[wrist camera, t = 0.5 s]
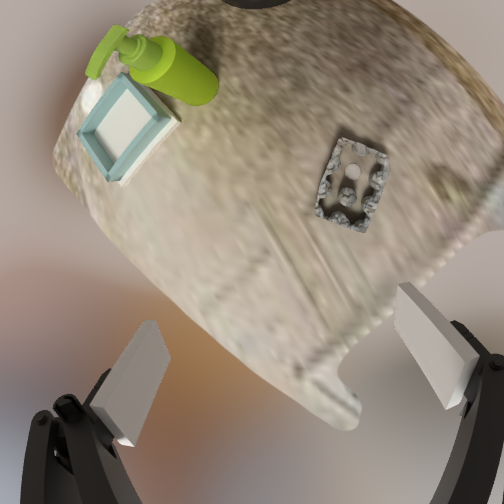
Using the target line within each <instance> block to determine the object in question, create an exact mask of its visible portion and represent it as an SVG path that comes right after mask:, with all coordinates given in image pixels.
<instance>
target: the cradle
mask: <svg viewBox="0 0 504 504" xmlns="http://www.w3.org/2000/svg"><path fill="white" fill-rule="evenodd" d="M180 123H181V122H180V121H179V119H178V118H177V117H176V116H175V115H174V114H173V113H172V112H171V110H170V109H169V108H168V107H167V106H166V105H165V104H164V103H163V102H162V101H161V99H160V98H159V97H158V96H157V95H156V94H155V93H154V92H153V91H152V90H151V89H150V87H148V86H146V85H143V84H140V83H138V82H136V81H134V80H133V79H132V77H131V75H130V73H129V74H126V73H123V72H121V73H120V74H119V75H118V76H117V77H116V79H115V80H114V81H113V82H112V84H111V85H110V86H109V87H108V89H107V90H106V91H105V93H104V94H103V95H102V97H101V98H100V99H99V101H98V102H97V104H96V105H95V106H94V108H93V109H92V111H91V112H90V114H89V115H88V117H87V118H86V120H85V121H84V123H83V124H82V126H81V127H80V129H79V130H78V132H77V136H78V137H79V139H80V141H81V142H82V144H83V145H84V147H85V148H86V150H87V152H88V153H89V155H90V156H91V158H92V159H93V161H94V162H95V164H96V165H97V167H98V168H99V170H100V171H101V173H102V174H103V176H104V177H105V179H106V180H107V182H113V181H117V182H118V183H119V185H120V186H121V187H126V186H127V185H128V183H129V182H130V181H131V179H132V178H133V177H134V176H135V174H136V173H137V172H138V171H139V170H140V168H141V167H142V166H143V165H144V163H145V162H146V161H147V160H148V159H149V158H150V156H151V155H152V154H153V153H154V152H155V151H156V150H157V148H158V147H159V146H160V145H161V144H162V143H163V142H164V141H165V139H166V138H167V137H168V136H169V135H170V134H171V133H172V132H173V131H174V130H175V129H176V128H177V127H178V126H179V124H180Z"/></svg>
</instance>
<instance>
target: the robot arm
mask: <svg viewBox="0 0 504 504" xmlns="http://www.w3.org/2000/svg"><path fill="white" fill-rule="evenodd" d="M222 1H223V2H225V3H227V4H229V5H231V6H234V7H238V8H244V9H262V8H269V7H274V6H277V5H281V4H283V3H286V2H288V1H290V0H222ZM394 328H395V329H396V331H397V332H398V334H399V335H400V337H401V338H402V339H403V341H404V343H405V344H406V346H407V347H408V348H409V350H410V352H411V353H412V355H413V356H414V358H415V359H416V361H417V363H418V364H419V366H420V367H421V369H422V371H423V372H424V374H425V376H426V377H427V379H428V381H429V382H430V384H431V385H432V387H433V389H434V391H435V392H436V394H437V396H438V397H439V399H440V401H441V403H442V405H443V406H444V408H445V410H446V409H449V408H451V407H453V406H455V405H457V404H459V403H460V401H461V399H462V397H463V395H465V397H466V398H467V402H466V404H465V405H464V408H463V409H462V411H461V413H460V415H461V416H462V419H461V423H460V427H459V430H458V434H457V437H456V440H455V443H454V446H453V449H452V452H451V455H450V458H449V461H448V463H447V466H446V468H445V471H444V473H443V476H442V478H441V481H440V483H439V485H438V487H437V490H436V492H435V494H434V496H433V498H432V500H431V502H430V504H487V502H488V499H489V496H490V494H491V491H492V487H493V484H494V481H495V477H496V473H497V469H498V466H499V461H500V457H501V453H502V448H503V442H504V356H503V355H500V354H490V353H489V352H488V351H487V349H486V348H485V347H484V346H483V345H482V344H481V343H480V342H479V341H478V340H477V338H476V337H474V335H473V334H472V333H471V332H469V330H468V329H467V328H466V327H465V326H464V325H463V324H461V323H459V322H457V321H455V320H454V321H451V322H449V321H448V320H447V319H446V318H445V317H444V316H443V315H442V314H441V313H440V312H439V311H438V310H437V309H436V308H435V307H434V306H433V305H432V303H431V302H429V300H428V299H427V298H425V296H424V295H423V294H421V293H420V292H419V291H418V290H417V289H416V288H415V287H414V286H413V285H412V284H411V283H410V282H406V283H402V284H397V299H396V312H395V323H394ZM170 360H171V357H170V354H169V352H168V350H167V347H166V345H165V343H164V340H163V338H162V335H161V333H160V330H159V328H158V325H157V322H156V320H148V321H143V323H142V324H141V326H140V327H139V329H138V330H137V332H136V333H135V335H134V336H133V338H132V339H131V341H130V342H129V344H128V345H127V347H126V348H125V350H124V351H123V353H122V354H121V356H120V357H119V359H118V360H117V362H116V363H115V365H114V366H113V368H112V369H108V370H107V371H106V372H105V373H103V374H102V375H101V377H100V379H99V380H98V383H96V385H95V386H94V389H92V391H91V392H90V394H89V395H88V397H87V399H86V400H85V402H84V403H83V405H81V404H80V402H79V401H78V399H77V398H76V397H75V396H74V395H73V394H66V395H63V396H61V397H59V398H58V399H57V400H56V401H55V403H54V405H53V409H54V411H55V412H56V413H57V415H58V416H59V417H56V418H55V417H54V416H53V415H52V414H51V412H50V411H48V410H42V411H39V412H38V413H36V415H35V416H34V417H33V419H32V422H31V427H30V431H29V436H28V442H27V447H26V453H25V459H24V466H23V475H22V484H21V497H20V504H142V502H141V500H140V498H139V497H138V495H137V493H136V491H135V489H134V487H133V485H132V483H131V481H130V479H129V477H128V475H127V473H126V470H125V469H124V466H123V464H122V461H121V459H120V457H119V454H118V452H117V450H116V447H115V446H114V444H113V443H112V441H113V439H114V437H115V438H116V439H117V440H118V442H119V443H120V444H123V445H128V446H133V447H134V446H135V444H136V441H137V439H138V437H139V434H140V431H141V429H142V426H143V424H144V422H145V419H146V417H147V414H148V411H149V409H150V407H151V404H152V402H153V400H154V397H155V395H156V392H157V389H158V388H159V385H160V383H161V381H162V378H163V376H164V373H165V371H166V369H167V366H168V364H169V362H170ZM462 414H463V415H462ZM54 450H55V451H56V452H57V454H56V456H55V455H54ZM502 504H504V493H503V502H502Z"/></svg>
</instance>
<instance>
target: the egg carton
mask: <svg viewBox="0 0 504 504" xmlns="http://www.w3.org/2000/svg"><path fill="white" fill-rule="evenodd" d="M347 143H348V144H351V145H352V151H353V152H354V154H355V155H357V156H365V155H367V154H369V153H370V152H372V153H374V154H375V158H376V161H377V162H378V163H379V164H380V165H381V169H380V172H373V173H372V174H371V175H370V176H369V184H370V186H371V187H372V188H373V189H374V192H373V195H372V196H366V197H364V198H363V199H362V201H361V208H362V210H363V211H364V212H365V213H366V216H365V219H364V220H357V221H356V222H355V223H354V224H353V225H351V224H350V222H349V220H348V218H347V217H346V216H345V214H344V213H342V212H340V211H336V212H334V213H332V214H331V216H330V217H328V216H325V215H323V209H322V207H321V206H320V205H319V199H321V198H325V197H327V196H328V195H329V194H330V193H331V192H332V187H331V184H330V183H329V182H328V181H327V180H326V176H327V175H329V174H332V173H333V172H334V171H336V170H337V169H338V166H339V165H340V159H339V155H340V152H341V150H342V148H343V147H344V145H345V144H347ZM331 155H332V157H331V160H330V161H329V163H328V166H327V169H326V171H325V173H324V176H323V178H322V180H321V183H320V186H319V191H318V196H317V202H316V206H315V209H316V210H315V216H318V217H321V218H323V219H326V220H329V221H331V222H334V223H336V224H339V225H342V226H344V227H347V228H349V229H352V230H355V231H358V232H361V233H365V232H366V230H367V228H368V226H369V223H370V221H371V218H372V215H373V213H374V212H375V208H376V207H377V205H378V203H379V200H380V196H381V194H382V192H383V189H384V186H385V184H386V181H387V178H388V175H389V172H390V164H389V160H388V156H387V155H385V154H383V153H381V152H379V151H376V150H374V149H372V148H369V147H367V146H365V145H363V144H361V143H358V142H353V141H351V140H348V139H346V138H343V137H340V138H339V140H338V142H337V145H336V147H334V148H333V151H332V154H331ZM345 174H346V176H347V178H348V179H350V180H357V179H358V178H359V177H360V176H361V174H362V171H361V168H360V166H359V165H358V164H355V163H351V164H349V165H347V166H346V168H345ZM337 197H338V200H339V202H340V203H341V204H342V205H344V206H347V207H348V206H352V205H353V204H354V203H356V200H357V196H356V193H355V191H354V190H353V189H351V188H348V187H343V188H341V189H340V190H339V191H338V194H337Z"/></svg>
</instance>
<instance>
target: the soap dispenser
mask: <svg viewBox="0 0 504 504" xmlns="http://www.w3.org/2000/svg"><path fill="white" fill-rule="evenodd" d="M128 31H129V29H127V28H124V27H121V26H118V25H114V26H113V27H112V28H111V29H110V30H109V32H108V33H107V34H106V35H105V37H104V38H103V40H102V41H101V42H100V44H99V45H98V47H97V48H96V50H95V52H94V54H93V55H92V57H91V59H90V62H89V64H88V67H87V70H86V73H85V75H87V76H88V77H90V78H92V79H94V80H96V79H97V78H99V77H100V75H101V72H102V70H103V68H104V66H105V64H106V62H107V60H108V59H109V57H110V56H111V54H112V53H113V51H114V50H115V51H117V52H119V60H120V61H121V62H122V63H123V64H125V65H128V66H129V72H130V75H131V77H132V79H133V80H134V81H136V82H138V83H140V84H143V85H146V86H148V87H151V88H153V89H155V90H158V91H160V92H163V93H165V94H167V95H170V96H172V97H174V98H176V99H179V100H181V101H183V102H185V103H187V104H190V105H193V106H200V105H204V104H206V103H208V102H209V101H211V100H212V99H213V98H214V96H215V95H216V93H217V91H218V87H219V83H218V79H217V77H216V75H215V74H214V73H213V72H211V71H210V70H209V69H208V68H207V67H205V66H204V65H203V64H202V63H201V62H199V61H198V60H197V59H196V58H194V57H193V56H192V55H191V54H189V53H188V52H187V51H186V50H184V49H183V48H182V47H180V46H179V45H178V44H176V43H175V42H174V41H172V40H171V39H170V38H168V37H165V36H157V37H153V38H151V39H148V38H147V37H145V36H143V35H134V36H132V37H130V38H129V37H128V36H126V34H127V33H128Z"/></svg>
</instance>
